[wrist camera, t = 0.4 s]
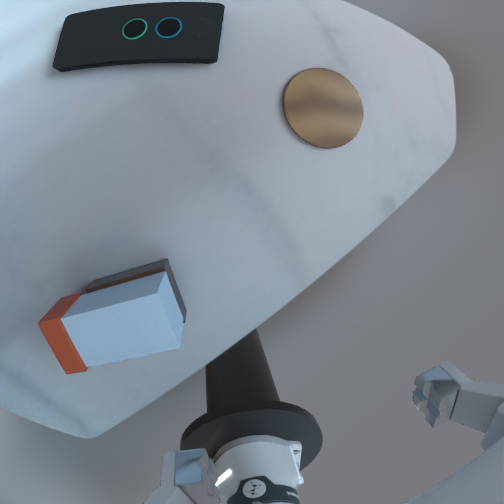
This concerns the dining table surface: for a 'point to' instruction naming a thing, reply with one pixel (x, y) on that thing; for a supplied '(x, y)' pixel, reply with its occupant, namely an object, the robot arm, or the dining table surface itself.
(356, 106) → the coaster
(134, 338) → the container
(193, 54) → the smart home device
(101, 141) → the dining table surface
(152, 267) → the block
